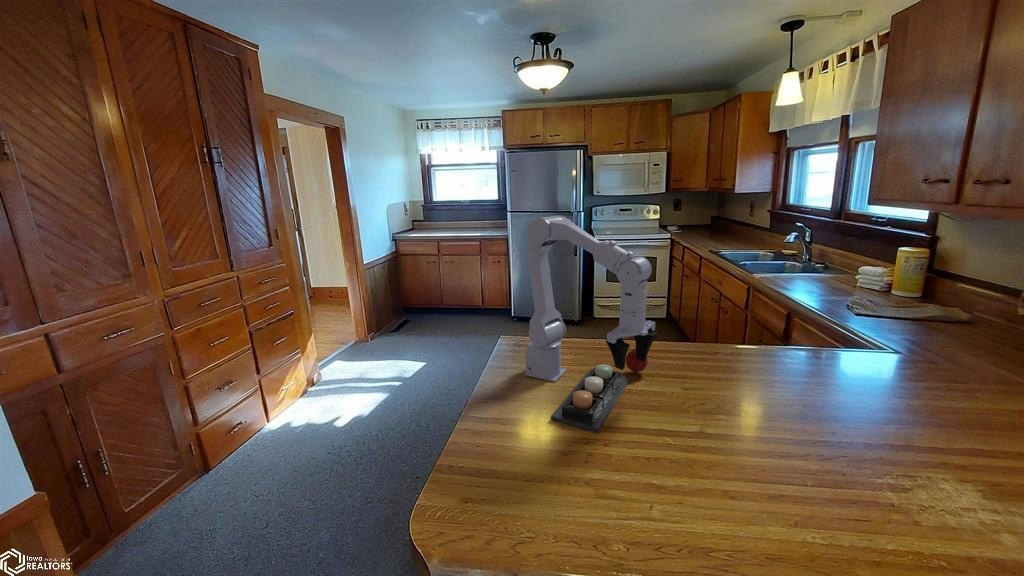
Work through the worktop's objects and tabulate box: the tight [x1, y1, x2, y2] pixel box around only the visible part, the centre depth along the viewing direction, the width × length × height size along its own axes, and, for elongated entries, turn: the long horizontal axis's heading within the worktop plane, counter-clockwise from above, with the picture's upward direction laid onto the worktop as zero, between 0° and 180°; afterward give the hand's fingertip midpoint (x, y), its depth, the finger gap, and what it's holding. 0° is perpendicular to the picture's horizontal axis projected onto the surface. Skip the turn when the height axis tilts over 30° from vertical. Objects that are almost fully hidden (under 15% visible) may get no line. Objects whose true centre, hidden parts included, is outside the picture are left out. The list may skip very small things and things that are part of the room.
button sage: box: [595, 363, 613, 380], centre depth 108 cm, size 4×4×2 cm
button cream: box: [585, 377, 603, 394], centre depth 101 cm, size 4×4×2 cm
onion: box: [625, 345, 649, 374], centre depth 114 cm, size 6×6×8 cm
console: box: [550, 367, 631, 434], centre depth 102 cm, size 11×27×3 cm, turn 151°
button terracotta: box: [573, 390, 592, 410], centre depth 94 cm, size 4×4×2 cm
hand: (630, 364), depth 98 cm, fingers open, 7 cm apart
